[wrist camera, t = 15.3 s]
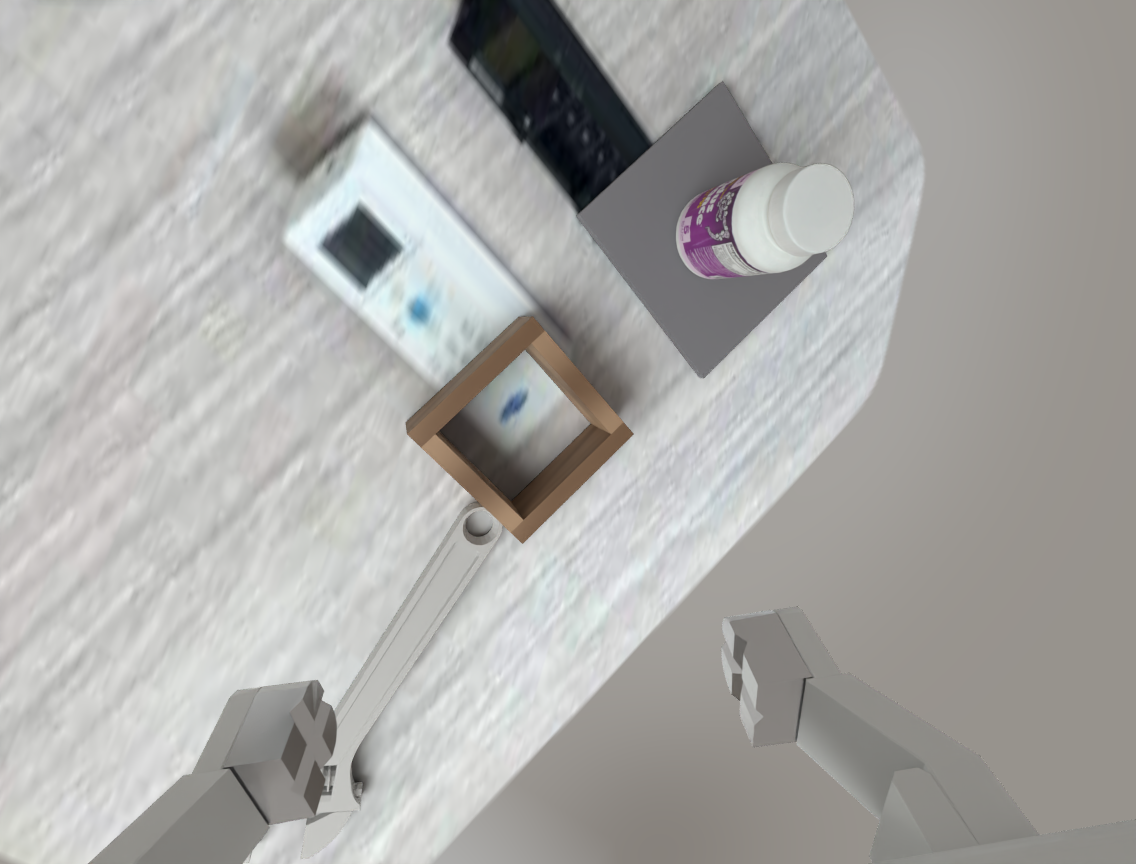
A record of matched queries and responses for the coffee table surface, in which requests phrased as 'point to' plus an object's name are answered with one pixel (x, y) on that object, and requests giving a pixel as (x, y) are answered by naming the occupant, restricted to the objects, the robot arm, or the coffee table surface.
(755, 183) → the pill bottle
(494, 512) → the walnut collar
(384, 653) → the adjustable wrench
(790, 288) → the charcoal mat
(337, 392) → the coffee table surface
